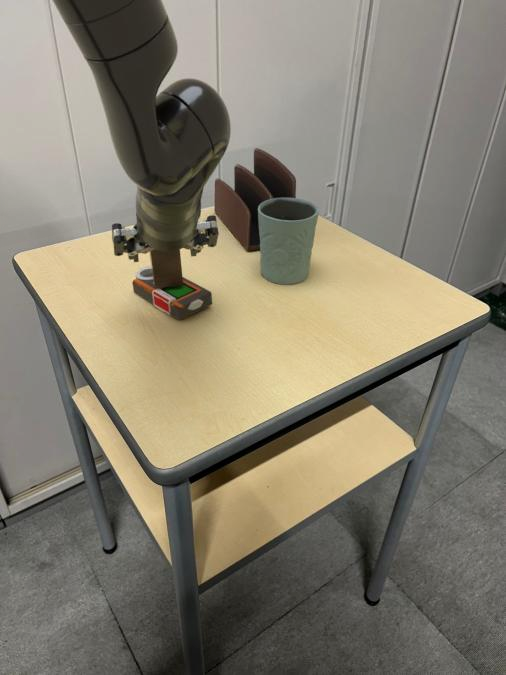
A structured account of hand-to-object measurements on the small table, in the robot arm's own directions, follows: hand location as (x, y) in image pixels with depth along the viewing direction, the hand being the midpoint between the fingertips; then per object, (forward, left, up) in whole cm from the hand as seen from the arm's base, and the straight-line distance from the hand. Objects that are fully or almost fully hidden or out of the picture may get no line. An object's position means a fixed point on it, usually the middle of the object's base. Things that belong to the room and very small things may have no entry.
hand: (164, 253), depth 78 cm
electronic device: (0, +2, -9) cm, 10 cm away
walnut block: (0, +2, -6) cm, 7 cm away
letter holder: (+20, +25, -9) cm, 33 cm away
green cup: (+21, +6, -9) cm, 24 cm away
